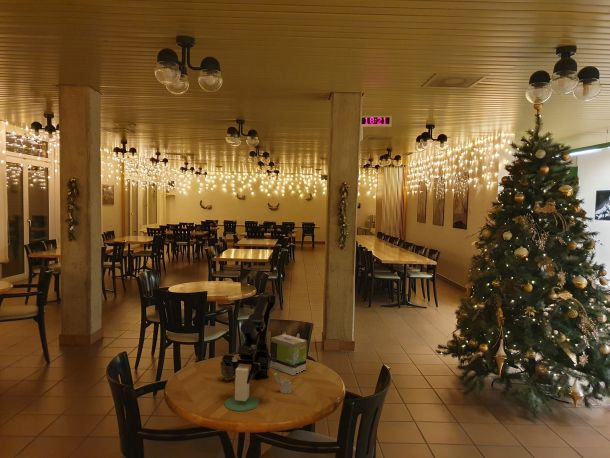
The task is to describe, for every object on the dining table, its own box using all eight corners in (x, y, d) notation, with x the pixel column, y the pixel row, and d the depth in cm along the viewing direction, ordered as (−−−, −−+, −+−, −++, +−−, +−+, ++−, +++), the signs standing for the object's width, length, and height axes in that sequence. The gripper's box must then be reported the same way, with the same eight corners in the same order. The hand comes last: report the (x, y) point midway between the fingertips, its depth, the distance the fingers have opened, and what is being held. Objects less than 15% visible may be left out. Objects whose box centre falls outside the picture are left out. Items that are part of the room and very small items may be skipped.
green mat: (250, 394, 177) (251, 393, 177) (263, 407, 166) (263, 406, 166) (220, 399, 170) (220, 398, 170) (231, 414, 159) (231, 413, 159)
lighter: (290, 391, 181) (291, 372, 180) (290, 393, 179) (291, 374, 179) (273, 390, 181) (274, 371, 181) (273, 392, 179) (274, 373, 179)
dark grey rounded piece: (222, 384, 185) (223, 366, 185) (217, 378, 192) (218, 360, 192) (239, 381, 189) (239, 363, 188) (233, 375, 195) (234, 358, 195)
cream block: (238, 395, 171) (239, 365, 170) (249, 396, 170) (249, 366, 169) (234, 400, 166) (235, 369, 166) (245, 401, 166) (246, 370, 165)
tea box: (306, 370, 205) (307, 339, 204) (292, 376, 197) (293, 344, 197) (283, 362, 215) (284, 332, 214) (269, 367, 207) (270, 337, 206)
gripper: (224, 334, 172) (213, 371, 162) (269, 338, 169) (261, 376, 159) (229, 347, 180) (220, 383, 170) (273, 351, 178) (266, 388, 167)
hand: (241, 382), depth 166 cm, fingers closed on cream block, 4 cm apart
